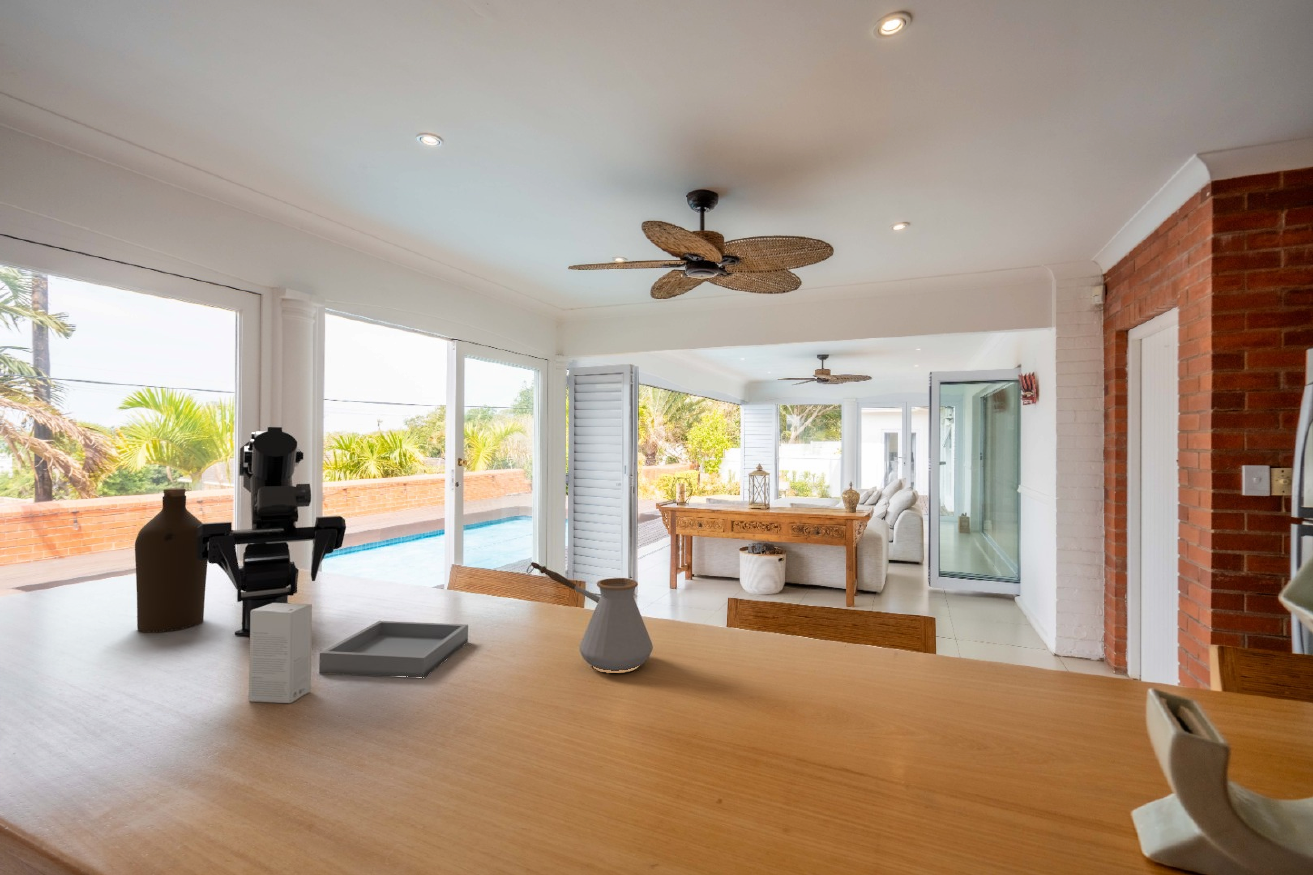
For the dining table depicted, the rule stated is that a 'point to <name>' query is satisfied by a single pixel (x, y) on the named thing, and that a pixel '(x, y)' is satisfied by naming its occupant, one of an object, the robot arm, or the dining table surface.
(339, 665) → the tray
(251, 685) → the skincare box
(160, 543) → the olive oil
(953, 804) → the dining table surface
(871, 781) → the dining table surface
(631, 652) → the coffee pot
